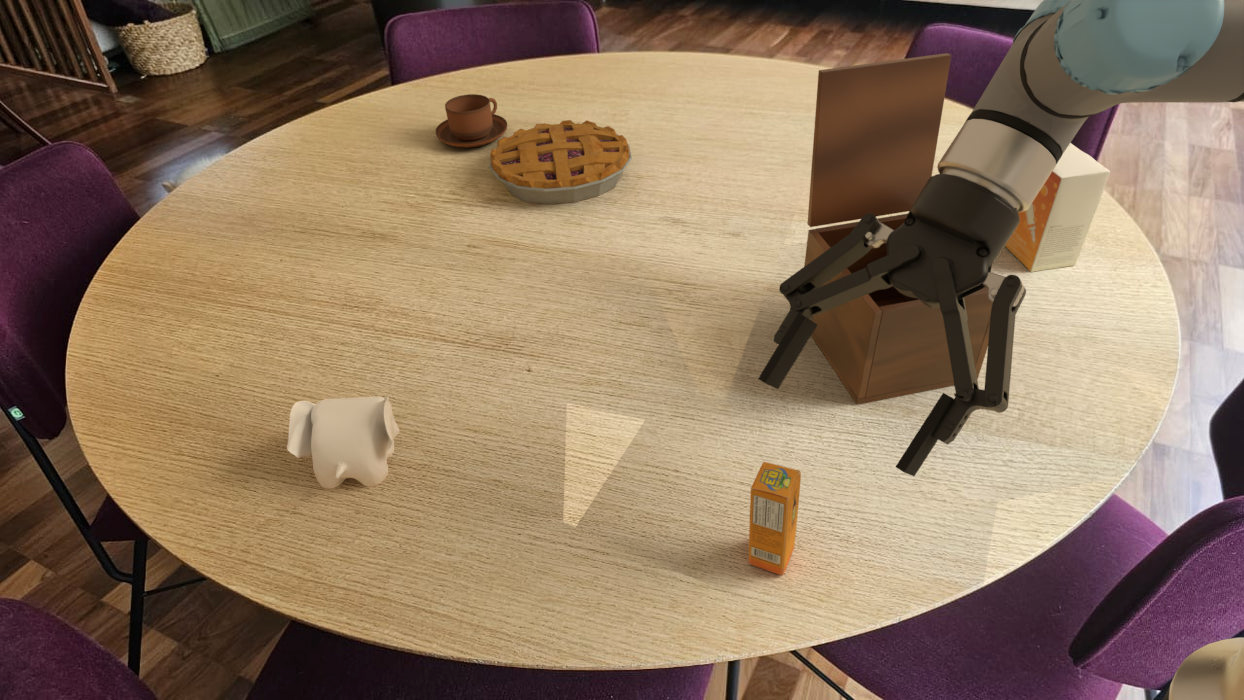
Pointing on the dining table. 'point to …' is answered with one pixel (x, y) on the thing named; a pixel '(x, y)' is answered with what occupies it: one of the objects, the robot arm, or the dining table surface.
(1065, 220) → the small box
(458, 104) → the cup and saucer
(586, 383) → the dining table surface
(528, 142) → the pie
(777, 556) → the supplement box
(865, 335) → the chest
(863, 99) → the lid
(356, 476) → the elephant figurine
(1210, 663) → the robot arm
